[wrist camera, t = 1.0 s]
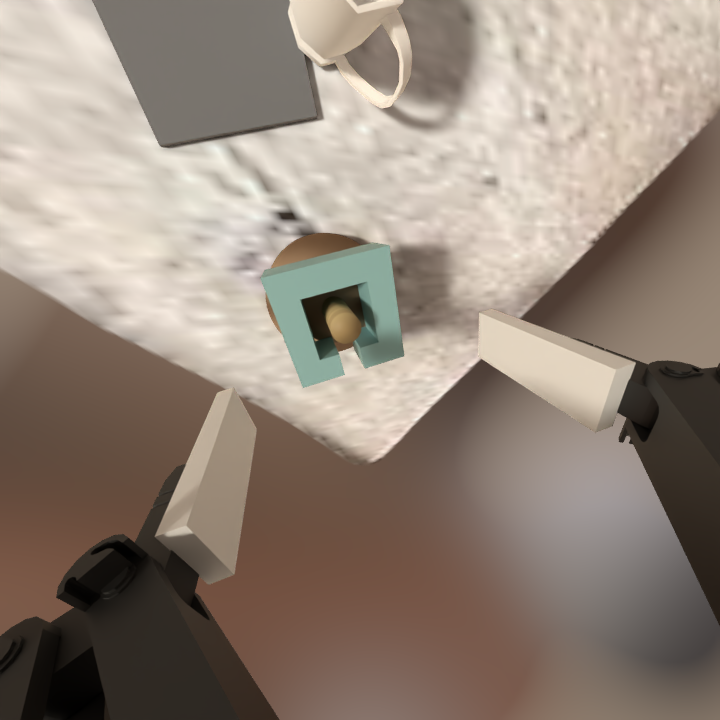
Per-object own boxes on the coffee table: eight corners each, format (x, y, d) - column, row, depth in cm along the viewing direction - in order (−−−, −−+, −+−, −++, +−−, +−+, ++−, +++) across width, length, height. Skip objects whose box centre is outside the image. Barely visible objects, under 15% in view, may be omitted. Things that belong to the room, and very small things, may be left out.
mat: (30, -140, 13) (21, -153, 13) (258, -153, 15) (257, -164, 14) (162, 147, 19) (159, 145, 19) (316, 118, 21) (317, 115, 20)
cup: (318, -88, 16) (370, -319, 10) (401, 91, 22) (472, 24, 15) (243, -4, 17) (242, -173, 10) (344, 152, 22) (388, 113, 15)
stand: (246, 249, 24) (221, 262, 15) (369, 220, 25) (416, 215, 16) (290, 360, 30) (291, 418, 20) (387, 331, 31) (429, 373, 22)
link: (264, 269, 20) (260, 278, 17) (372, 242, 21) (389, 245, 18) (300, 365, 25) (303, 387, 21) (388, 339, 26) (404, 356, 22)
